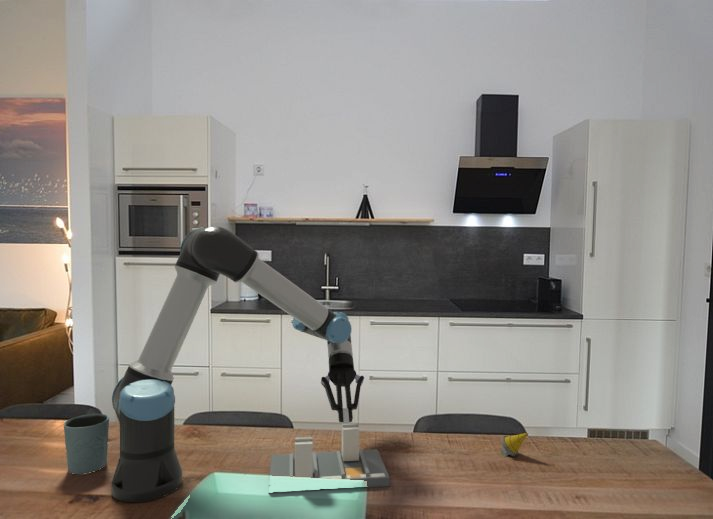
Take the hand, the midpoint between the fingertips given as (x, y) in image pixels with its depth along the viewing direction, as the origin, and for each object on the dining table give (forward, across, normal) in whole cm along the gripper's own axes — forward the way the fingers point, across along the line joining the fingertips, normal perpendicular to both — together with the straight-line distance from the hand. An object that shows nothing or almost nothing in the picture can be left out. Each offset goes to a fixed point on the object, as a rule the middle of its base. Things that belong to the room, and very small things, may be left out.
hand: (346, 432), depth 130 cm
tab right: (+8, 0, +4) cm, 9 cm away
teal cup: (+4, +66, -4) cm, 66 cm away
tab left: (+14, +12, +9) cm, 20 cm away
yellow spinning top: (+9, -45, +1) cm, 46 cm away
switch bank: (+12, +6, +4) cm, 14 cm away
